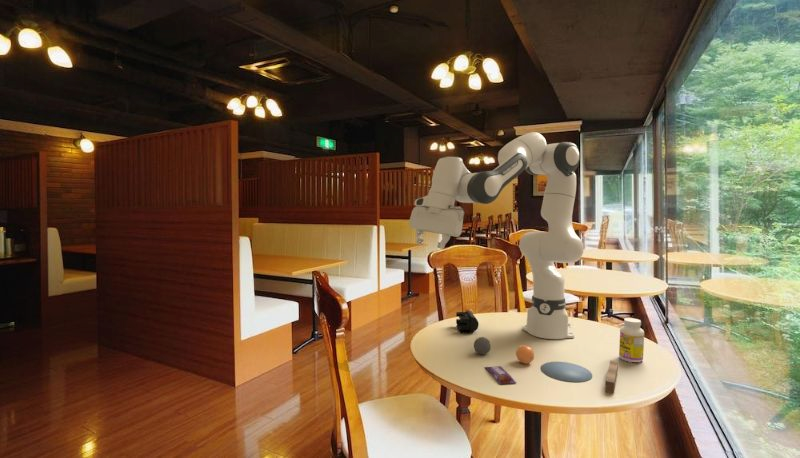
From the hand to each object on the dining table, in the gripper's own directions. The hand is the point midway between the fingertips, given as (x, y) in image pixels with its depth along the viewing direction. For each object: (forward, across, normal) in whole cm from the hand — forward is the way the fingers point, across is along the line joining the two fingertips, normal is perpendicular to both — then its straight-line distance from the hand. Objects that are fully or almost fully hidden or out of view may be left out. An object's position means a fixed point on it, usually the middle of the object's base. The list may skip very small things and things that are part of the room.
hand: (429, 246), depth 126 cm
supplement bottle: (+19, -47, -54) cm, 74 cm away
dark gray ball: (+27, -12, -23) cm, 38 cm away
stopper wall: (+25, -49, -33) cm, 64 cm away
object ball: (+25, -26, -27) cm, 45 cm away
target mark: (+26, -38, -30) cm, 55 cm away
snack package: (+33, -26, -14) cm, 44 cm away
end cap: (+28, +7, -40) cm, 49 cm away
